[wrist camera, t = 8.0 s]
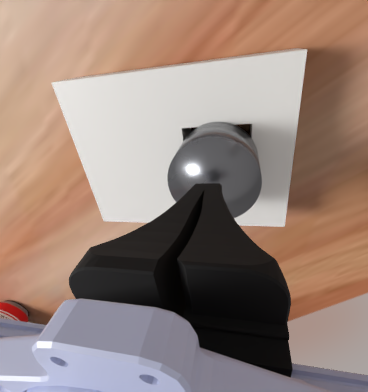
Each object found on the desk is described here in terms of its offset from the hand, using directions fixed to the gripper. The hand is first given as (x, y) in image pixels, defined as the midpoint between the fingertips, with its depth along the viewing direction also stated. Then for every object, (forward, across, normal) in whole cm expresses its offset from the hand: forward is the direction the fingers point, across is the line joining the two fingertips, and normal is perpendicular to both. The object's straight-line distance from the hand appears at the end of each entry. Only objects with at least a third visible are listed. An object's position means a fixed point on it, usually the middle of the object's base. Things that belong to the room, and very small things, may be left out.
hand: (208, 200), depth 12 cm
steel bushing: (+8, 0, 0) cm, 8 cm away
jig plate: (+8, +3, 0) cm, 9 cm away
